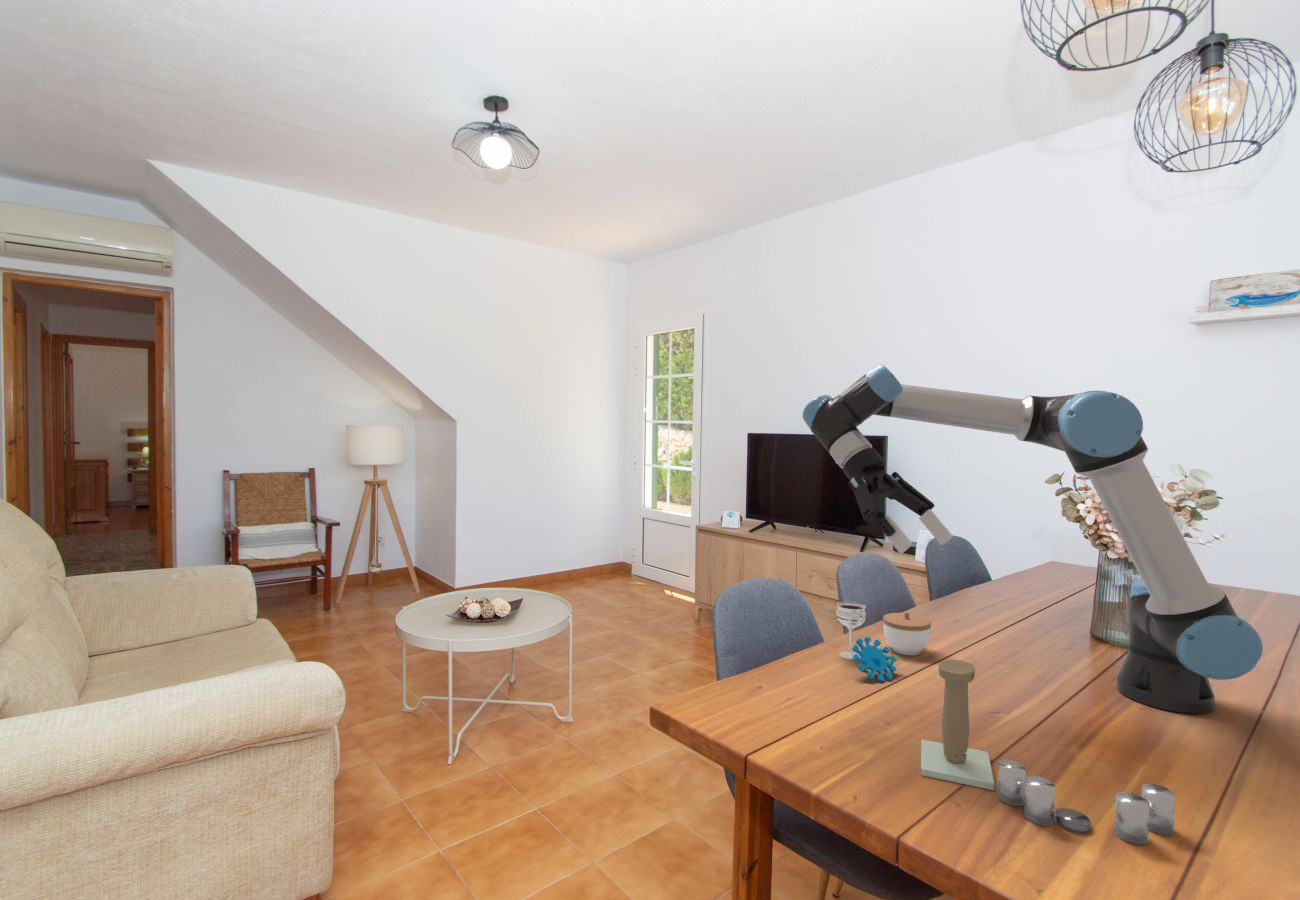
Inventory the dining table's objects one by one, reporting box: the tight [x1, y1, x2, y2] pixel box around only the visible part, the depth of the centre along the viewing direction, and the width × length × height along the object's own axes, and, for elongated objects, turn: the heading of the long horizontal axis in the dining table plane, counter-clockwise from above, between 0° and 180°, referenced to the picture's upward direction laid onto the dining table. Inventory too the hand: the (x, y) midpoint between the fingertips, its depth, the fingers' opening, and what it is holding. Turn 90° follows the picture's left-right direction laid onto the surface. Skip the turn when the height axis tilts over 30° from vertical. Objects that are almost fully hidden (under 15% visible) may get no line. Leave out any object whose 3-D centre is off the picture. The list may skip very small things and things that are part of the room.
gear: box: [851, 636, 899, 683], centre depth 137 cm, size 11×6×10 cm
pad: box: [920, 739, 995, 791], centre depth 99 cm, size 10×10×1 cm
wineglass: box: [835, 601, 867, 660], centre depth 147 cm, size 7×7×12 cm
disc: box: [1054, 807, 1092, 835], centre depth 85 cm, size 4×4×1 cm
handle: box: [938, 659, 976, 764], centre depth 99 cm, size 5×6×15 cm
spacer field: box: [996, 758, 1176, 846], centre depth 86 cm, size 21×8×5 cm, turn 66°
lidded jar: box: [882, 611, 932, 656], centre depth 150 cm, size 11×11×9 cm
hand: (927, 545), depth 113 cm, fingers open, 13 cm apart
